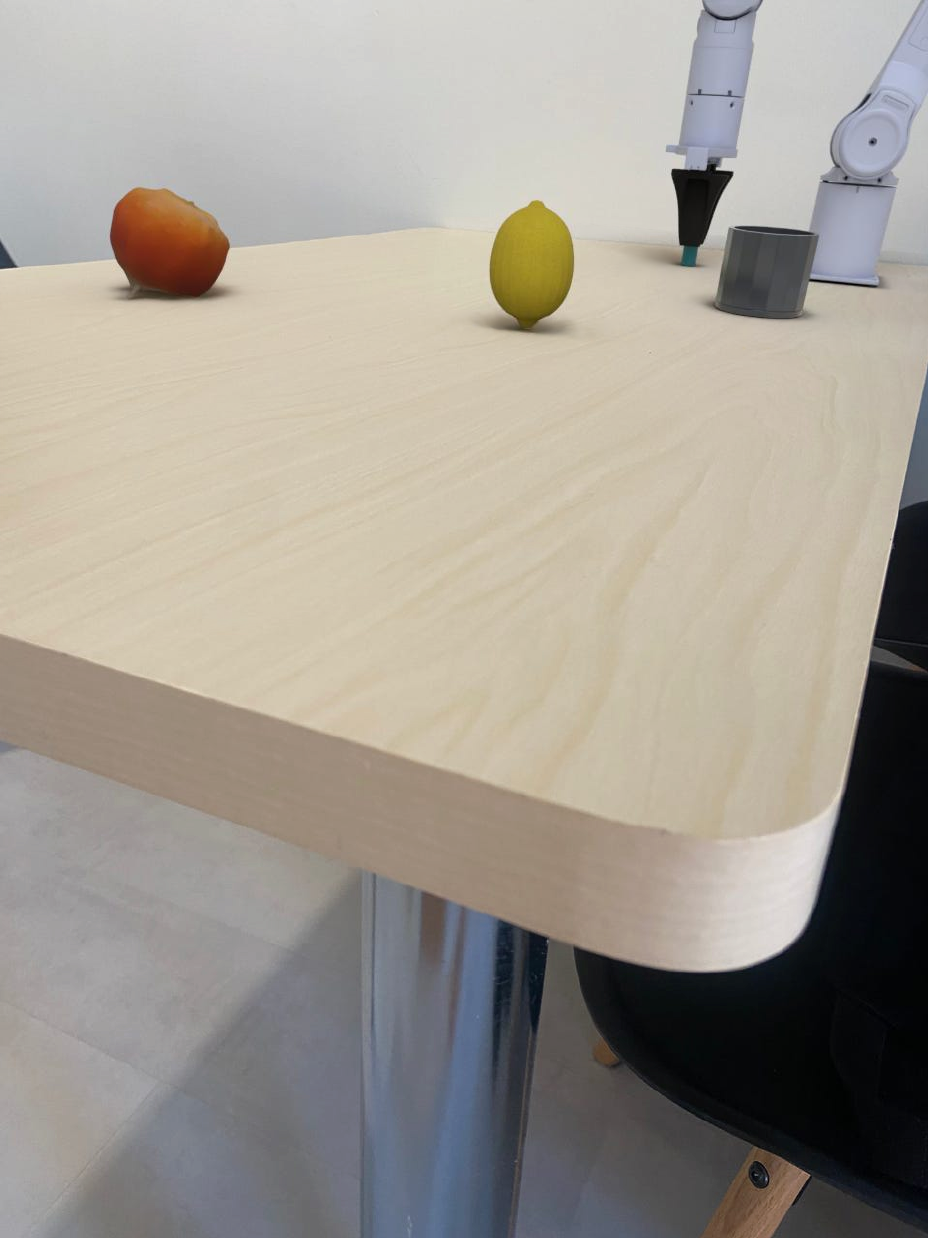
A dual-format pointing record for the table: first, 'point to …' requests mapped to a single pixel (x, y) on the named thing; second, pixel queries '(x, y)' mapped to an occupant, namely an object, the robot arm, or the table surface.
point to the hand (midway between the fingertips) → (691, 244)
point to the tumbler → (766, 271)
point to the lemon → (532, 264)
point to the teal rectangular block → (689, 256)
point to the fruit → (167, 243)
